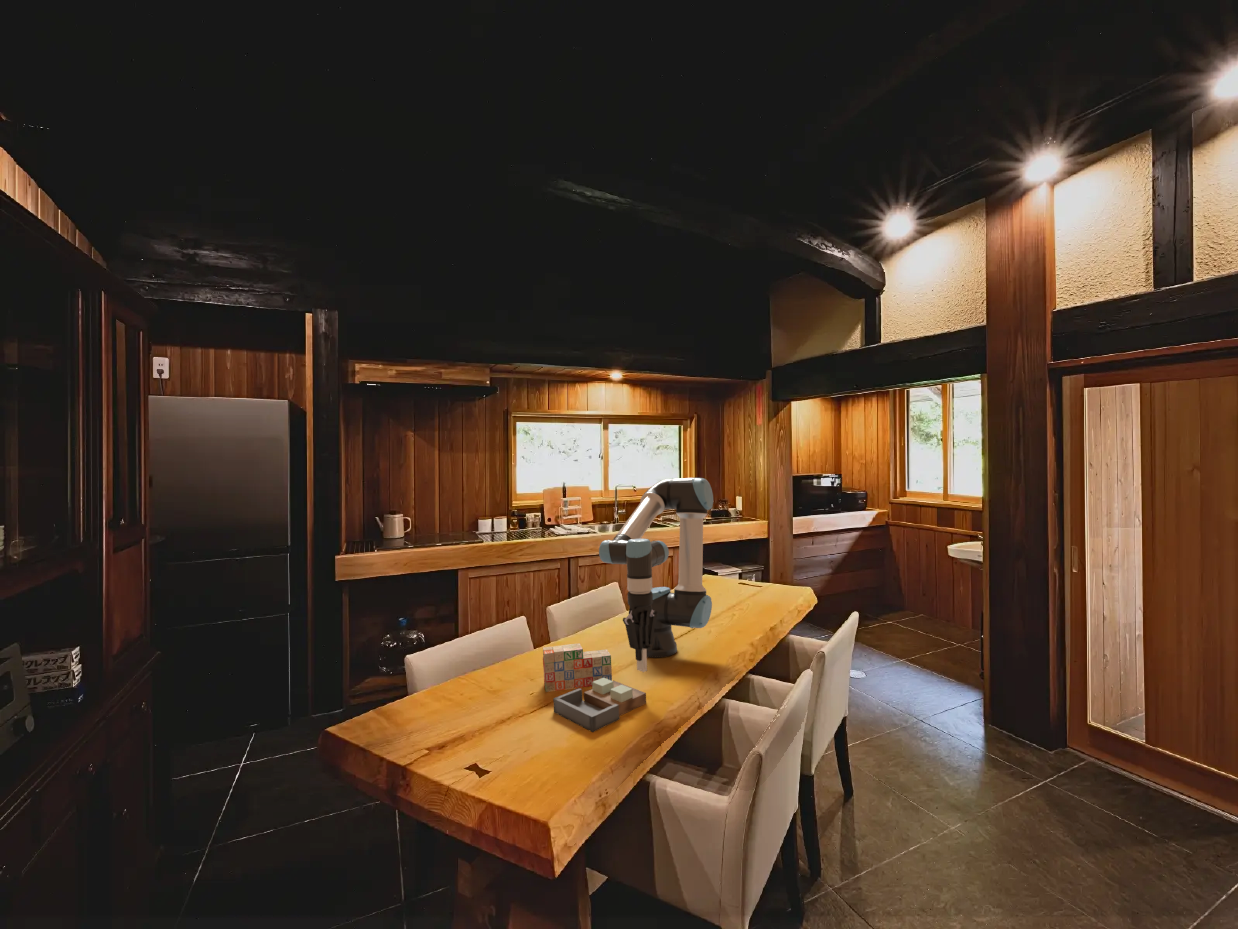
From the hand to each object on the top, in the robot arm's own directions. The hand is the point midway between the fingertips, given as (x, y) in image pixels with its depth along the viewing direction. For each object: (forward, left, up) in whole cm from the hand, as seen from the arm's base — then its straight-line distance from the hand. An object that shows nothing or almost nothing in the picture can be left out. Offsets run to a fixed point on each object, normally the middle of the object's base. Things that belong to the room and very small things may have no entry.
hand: (642, 670), depth 163 cm
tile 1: (+9, -8, -6) cm, 13 cm away
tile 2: (+9, 0, -6) cm, 10 cm away
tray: (+19, -4, -9) cm, 21 cm away
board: (+8, -4, -9) cm, 12 cm away
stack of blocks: (+6, -23, -9) cm, 26 cm away
